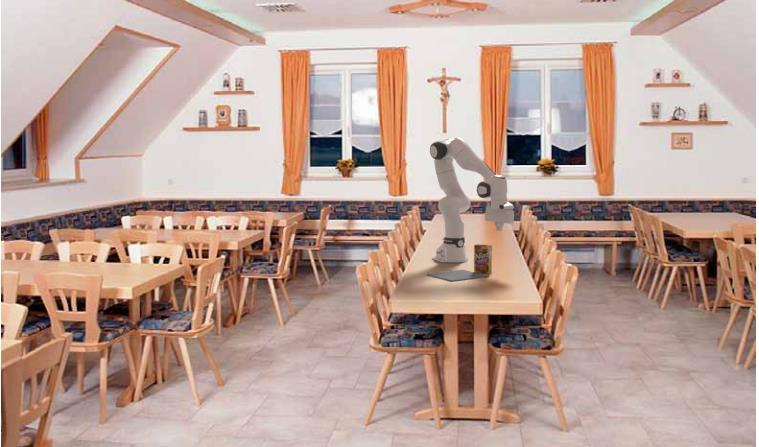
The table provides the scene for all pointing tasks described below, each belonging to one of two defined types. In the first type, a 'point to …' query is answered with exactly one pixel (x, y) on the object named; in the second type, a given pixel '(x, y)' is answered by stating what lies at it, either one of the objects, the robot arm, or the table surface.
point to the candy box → (483, 258)
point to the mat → (457, 275)
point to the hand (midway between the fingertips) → (499, 230)
